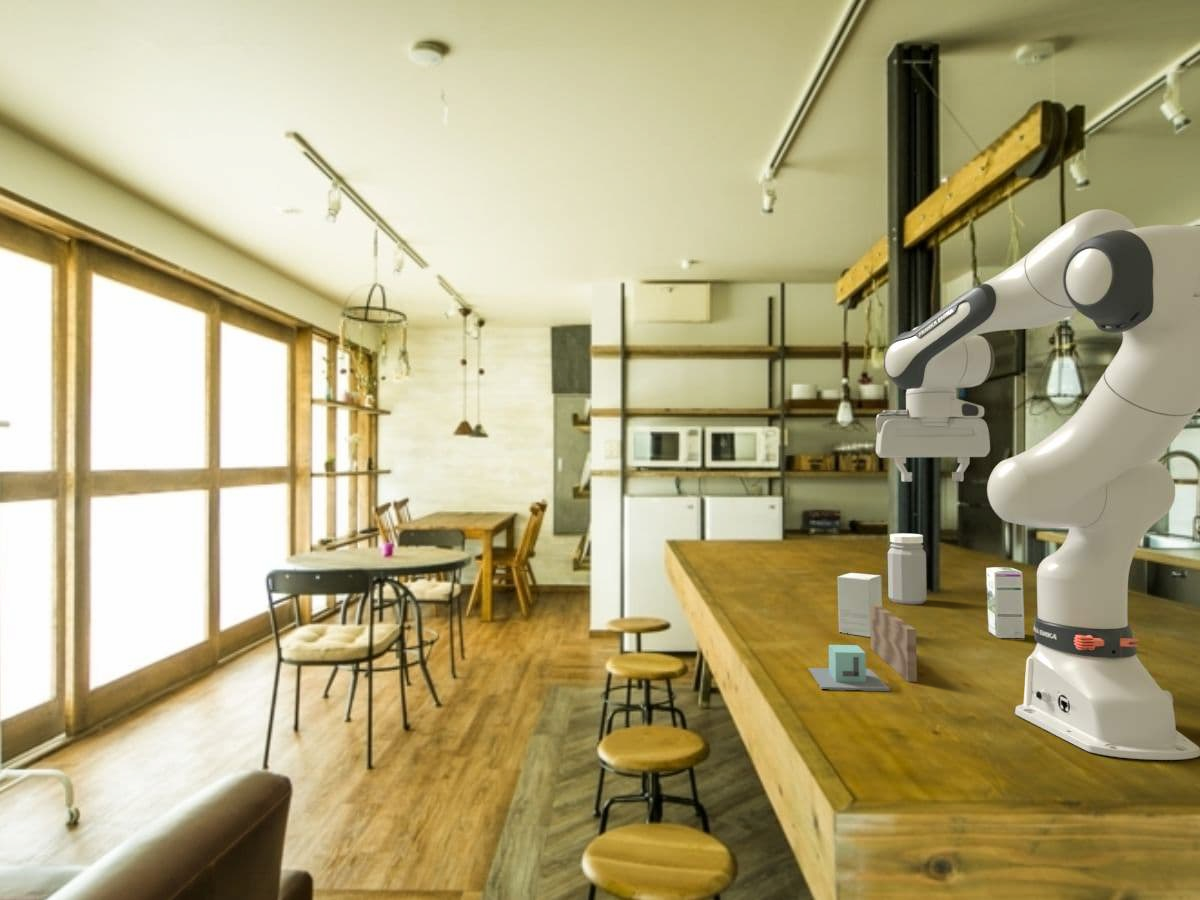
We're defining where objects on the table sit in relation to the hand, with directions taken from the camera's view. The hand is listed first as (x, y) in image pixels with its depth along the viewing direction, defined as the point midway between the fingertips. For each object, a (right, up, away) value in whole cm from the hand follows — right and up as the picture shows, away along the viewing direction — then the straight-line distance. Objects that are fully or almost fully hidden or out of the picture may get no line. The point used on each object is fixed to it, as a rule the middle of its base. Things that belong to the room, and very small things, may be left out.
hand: (932, 481), depth 136 cm
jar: (+19, -35, +56) cm, 69 cm away
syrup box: (+24, -34, +17) cm, 45 cm away
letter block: (-21, -34, -13) cm, 41 cm away
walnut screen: (-9, -34, -3) cm, 35 cm away
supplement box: (-6, -35, +22) cm, 42 cm away
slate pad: (-21, -34, -13) cm, 42 cm away
